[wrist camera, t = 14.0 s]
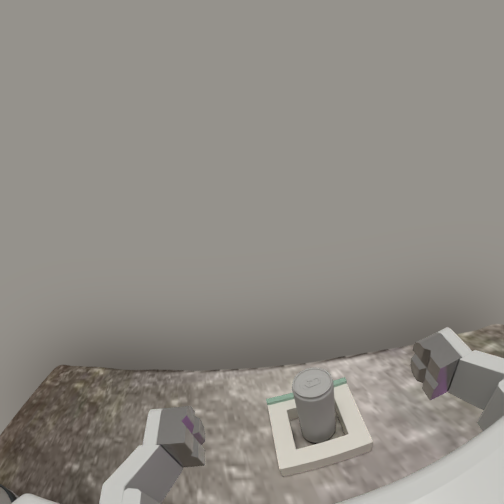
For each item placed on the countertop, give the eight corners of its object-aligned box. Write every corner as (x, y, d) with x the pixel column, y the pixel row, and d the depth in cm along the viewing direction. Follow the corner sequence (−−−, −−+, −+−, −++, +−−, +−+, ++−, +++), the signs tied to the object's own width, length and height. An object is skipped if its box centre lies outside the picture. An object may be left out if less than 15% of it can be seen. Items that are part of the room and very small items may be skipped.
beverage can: (297, 424, 36) (285, 375, 32) (328, 413, 37) (323, 361, 32) (308, 449, 32) (299, 404, 27) (341, 436, 33) (340, 387, 28)
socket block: (283, 476, 29) (278, 467, 27) (270, 411, 40) (266, 399, 39) (370, 450, 29) (373, 439, 27) (345, 391, 40) (344, 377, 39)
